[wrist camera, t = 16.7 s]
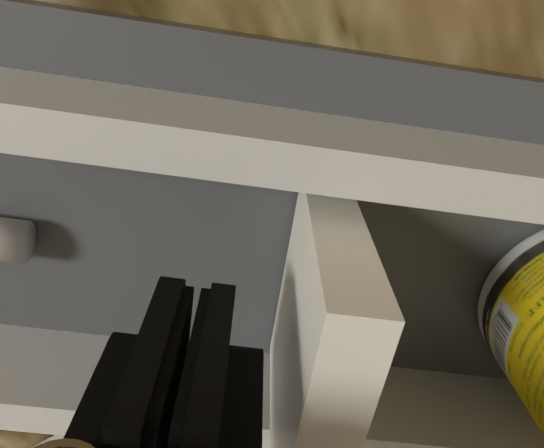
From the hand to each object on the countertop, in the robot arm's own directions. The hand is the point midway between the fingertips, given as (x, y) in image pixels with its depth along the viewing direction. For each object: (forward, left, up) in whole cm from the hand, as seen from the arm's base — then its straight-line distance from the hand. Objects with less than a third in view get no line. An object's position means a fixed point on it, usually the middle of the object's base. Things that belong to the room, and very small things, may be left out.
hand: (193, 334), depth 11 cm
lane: (0, +4, -5) cm, 6 cm away
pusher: (0, +3, -3) cm, 4 cm away
